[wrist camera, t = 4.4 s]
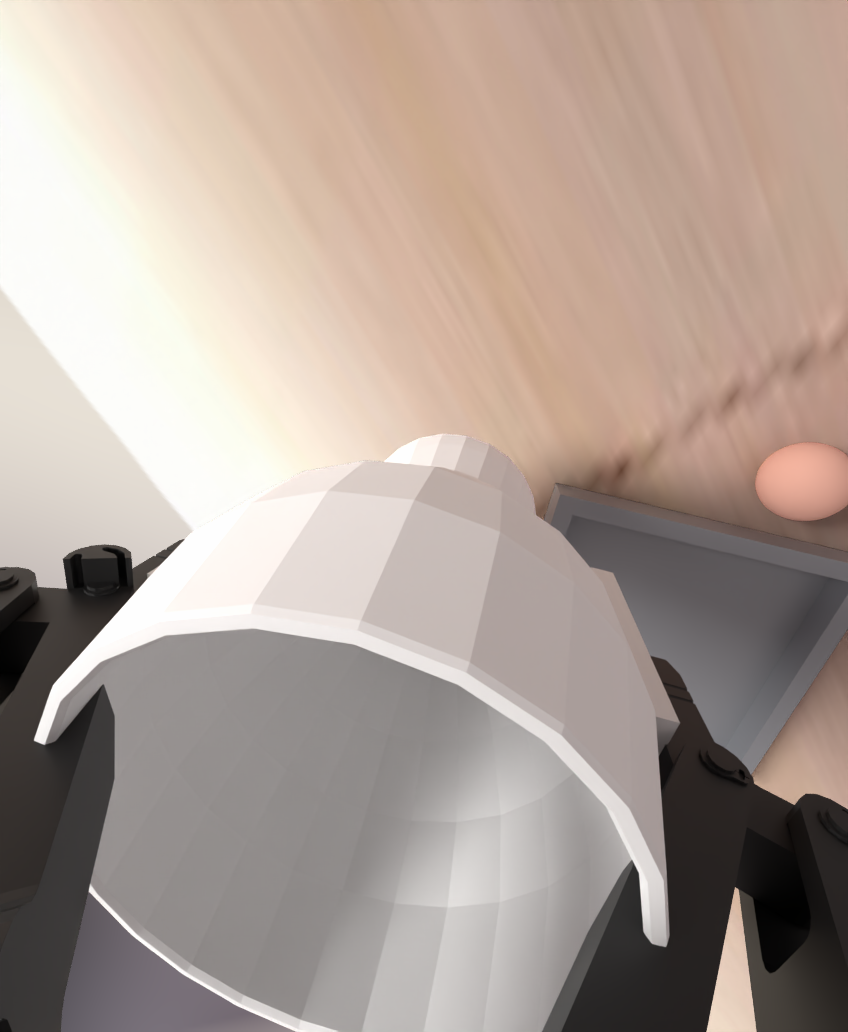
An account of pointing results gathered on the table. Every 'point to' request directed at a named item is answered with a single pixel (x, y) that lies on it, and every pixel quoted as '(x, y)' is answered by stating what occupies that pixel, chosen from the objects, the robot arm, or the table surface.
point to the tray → (717, 606)
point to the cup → (375, 751)
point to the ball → (804, 481)
